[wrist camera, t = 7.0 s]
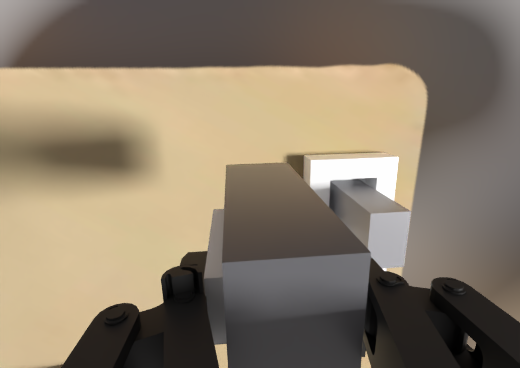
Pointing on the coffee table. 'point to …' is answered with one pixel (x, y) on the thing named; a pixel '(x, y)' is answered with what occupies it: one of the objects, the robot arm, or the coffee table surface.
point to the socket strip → (351, 169)
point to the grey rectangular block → (289, 274)
